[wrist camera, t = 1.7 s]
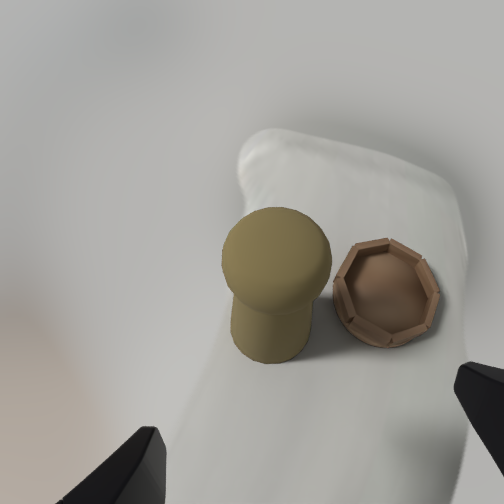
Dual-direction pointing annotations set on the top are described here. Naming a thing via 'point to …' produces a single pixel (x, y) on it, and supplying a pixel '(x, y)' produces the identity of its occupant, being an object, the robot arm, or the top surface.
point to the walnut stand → (385, 293)
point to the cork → (274, 281)
